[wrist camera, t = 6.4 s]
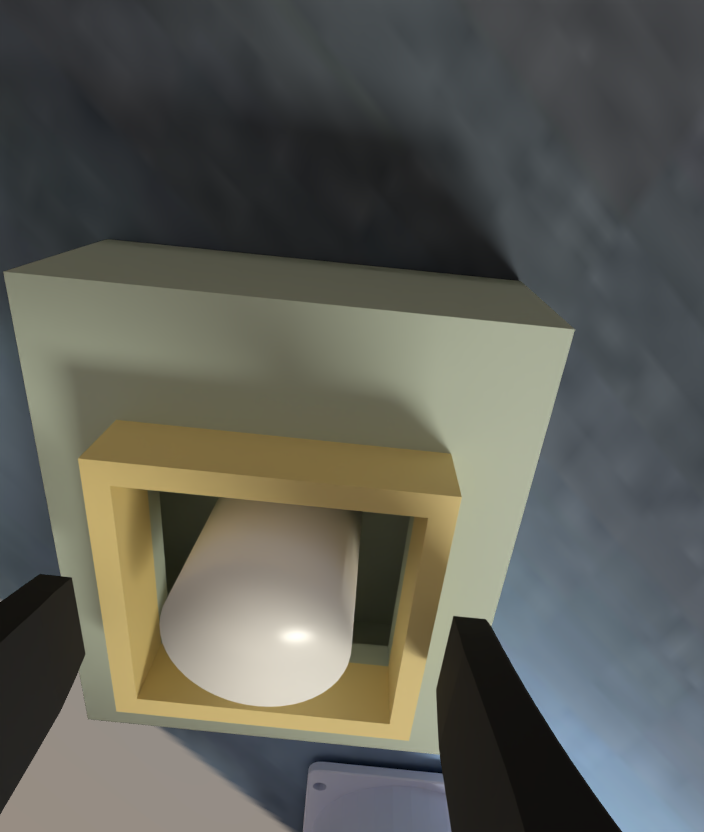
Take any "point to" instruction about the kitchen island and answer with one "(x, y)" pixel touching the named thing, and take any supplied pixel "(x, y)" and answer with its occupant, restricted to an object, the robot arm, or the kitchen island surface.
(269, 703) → the pellet
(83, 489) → the square stacking base
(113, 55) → the kitchen island surface
